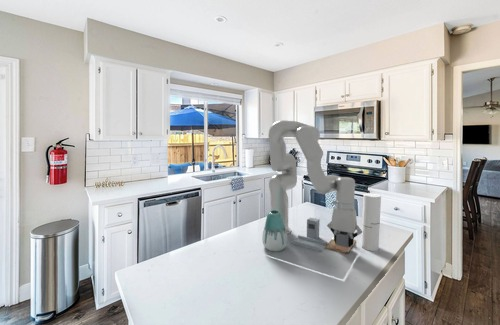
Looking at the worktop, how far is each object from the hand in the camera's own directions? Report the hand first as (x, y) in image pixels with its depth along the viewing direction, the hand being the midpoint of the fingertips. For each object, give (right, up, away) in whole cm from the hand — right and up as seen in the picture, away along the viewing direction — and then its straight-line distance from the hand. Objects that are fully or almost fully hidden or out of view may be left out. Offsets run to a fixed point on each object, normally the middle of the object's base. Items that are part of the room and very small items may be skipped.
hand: (343, 244), depth 110 cm
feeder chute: (-14, -3, +7) cm, 16 cm away
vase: (-31, -4, +4) cm, 31 cm away
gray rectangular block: (-10, -2, +14) cm, 18 cm away
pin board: (+1, -3, +6) cm, 7 cm away
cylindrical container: (+14, -3, +4) cm, 15 cm away
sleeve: (0, -2, 0) cm, 2 cm away
